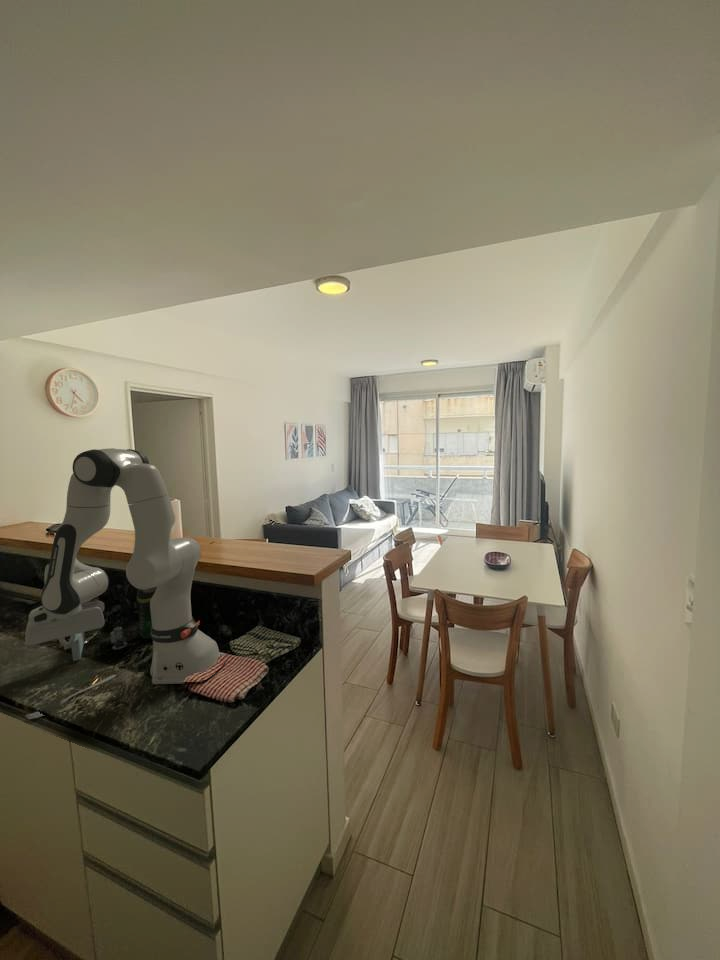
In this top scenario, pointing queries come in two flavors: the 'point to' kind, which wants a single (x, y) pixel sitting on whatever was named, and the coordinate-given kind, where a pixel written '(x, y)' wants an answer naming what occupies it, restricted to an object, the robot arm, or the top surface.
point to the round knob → (85, 639)
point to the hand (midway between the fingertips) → (68, 648)
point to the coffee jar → (145, 611)
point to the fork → (72, 696)
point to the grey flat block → (77, 646)
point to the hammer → (118, 639)
